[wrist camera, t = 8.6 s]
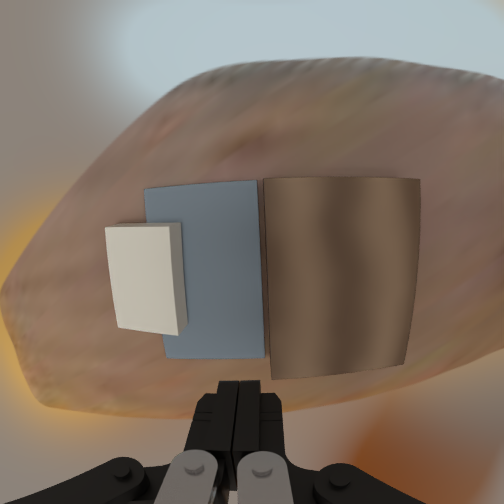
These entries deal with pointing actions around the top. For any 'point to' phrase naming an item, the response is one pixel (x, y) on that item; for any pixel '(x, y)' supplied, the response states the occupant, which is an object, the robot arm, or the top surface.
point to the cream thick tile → (147, 276)
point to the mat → (215, 267)
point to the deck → (340, 272)
